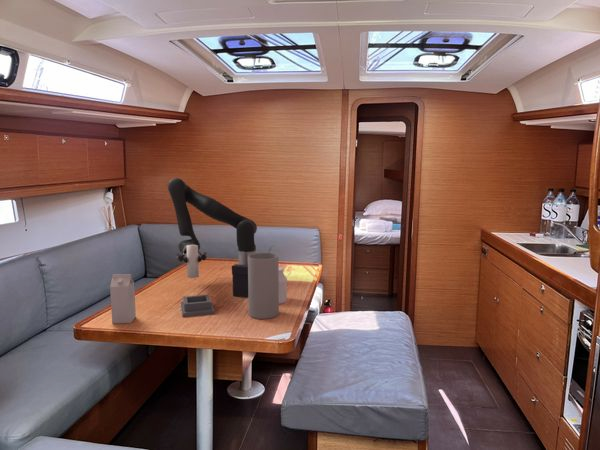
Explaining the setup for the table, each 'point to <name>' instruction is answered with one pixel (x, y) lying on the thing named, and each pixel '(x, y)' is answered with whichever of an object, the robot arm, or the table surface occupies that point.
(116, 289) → the milk carton
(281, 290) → the jar
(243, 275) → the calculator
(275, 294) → the cylinder vase
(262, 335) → the table surface
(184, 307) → the roll holder
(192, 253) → the paper roll
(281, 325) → the table surface
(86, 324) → the table surface
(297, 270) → the table surface
